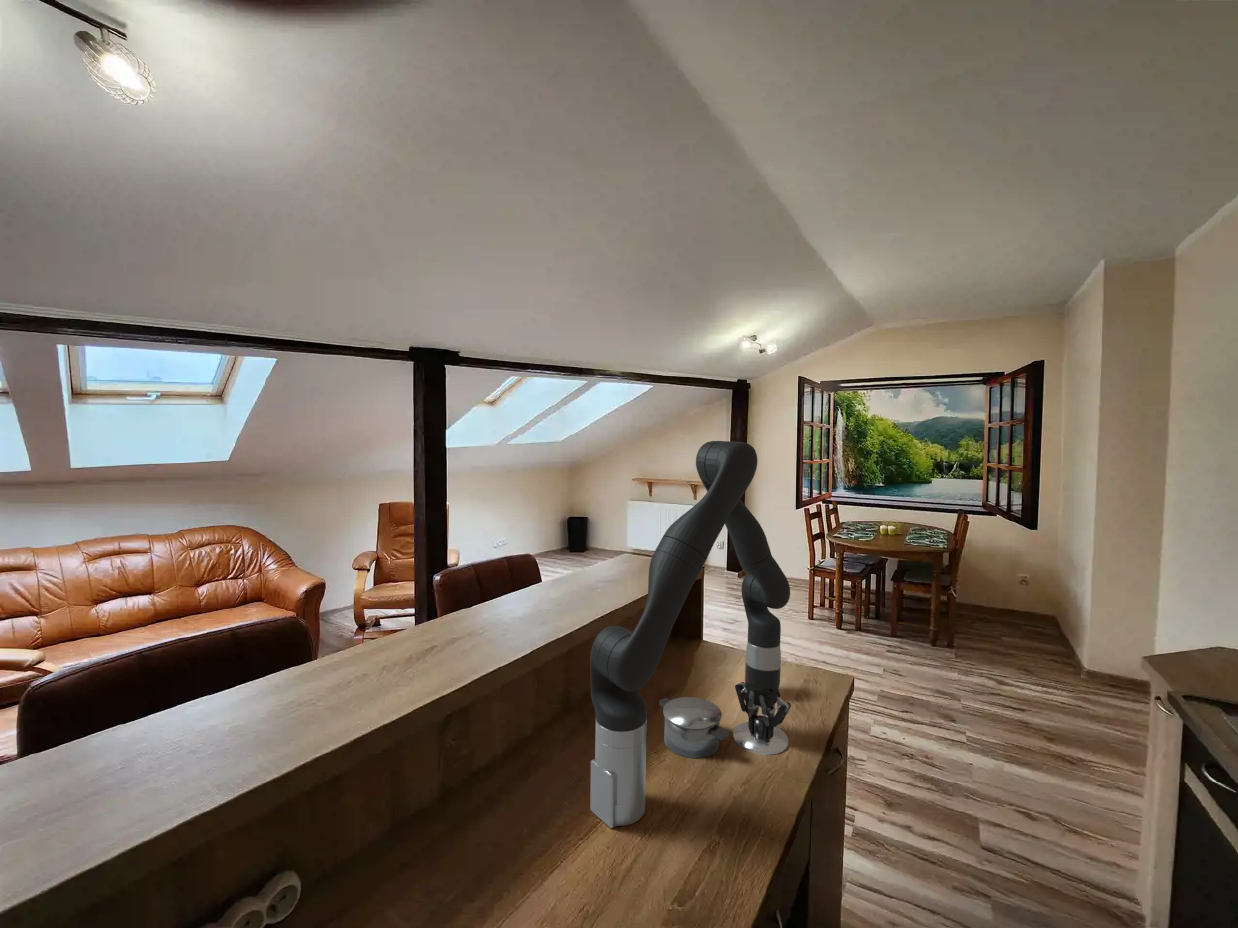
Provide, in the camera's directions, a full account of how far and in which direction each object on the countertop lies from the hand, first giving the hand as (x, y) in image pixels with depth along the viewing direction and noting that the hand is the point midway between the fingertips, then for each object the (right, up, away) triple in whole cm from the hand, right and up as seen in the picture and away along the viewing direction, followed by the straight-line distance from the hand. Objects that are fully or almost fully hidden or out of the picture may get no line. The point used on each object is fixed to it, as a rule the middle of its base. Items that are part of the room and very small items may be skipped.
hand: (760, 735), depth 124 cm
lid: (0, -1, 0) cm, 1 cm away
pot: (-16, -1, -2) cm, 16 cm away
